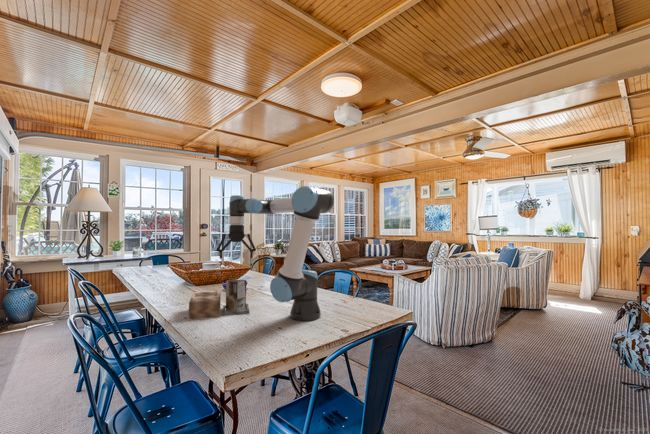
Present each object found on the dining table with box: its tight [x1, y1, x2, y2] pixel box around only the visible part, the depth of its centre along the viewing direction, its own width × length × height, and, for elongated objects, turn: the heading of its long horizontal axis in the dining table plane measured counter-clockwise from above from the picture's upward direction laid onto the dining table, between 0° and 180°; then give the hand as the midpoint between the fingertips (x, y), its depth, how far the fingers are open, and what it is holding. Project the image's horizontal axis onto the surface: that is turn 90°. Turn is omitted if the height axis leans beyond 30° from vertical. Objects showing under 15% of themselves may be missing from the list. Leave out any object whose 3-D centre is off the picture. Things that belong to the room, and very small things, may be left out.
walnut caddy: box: [188, 290, 250, 320], centre depth 163 cm, size 28×18×10 cm, turn 107°
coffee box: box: [225, 278, 247, 312], centre depth 166 cm, size 9×6×16 cm
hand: (236, 264), depth 166 cm, fingers open, 13 cm apart
